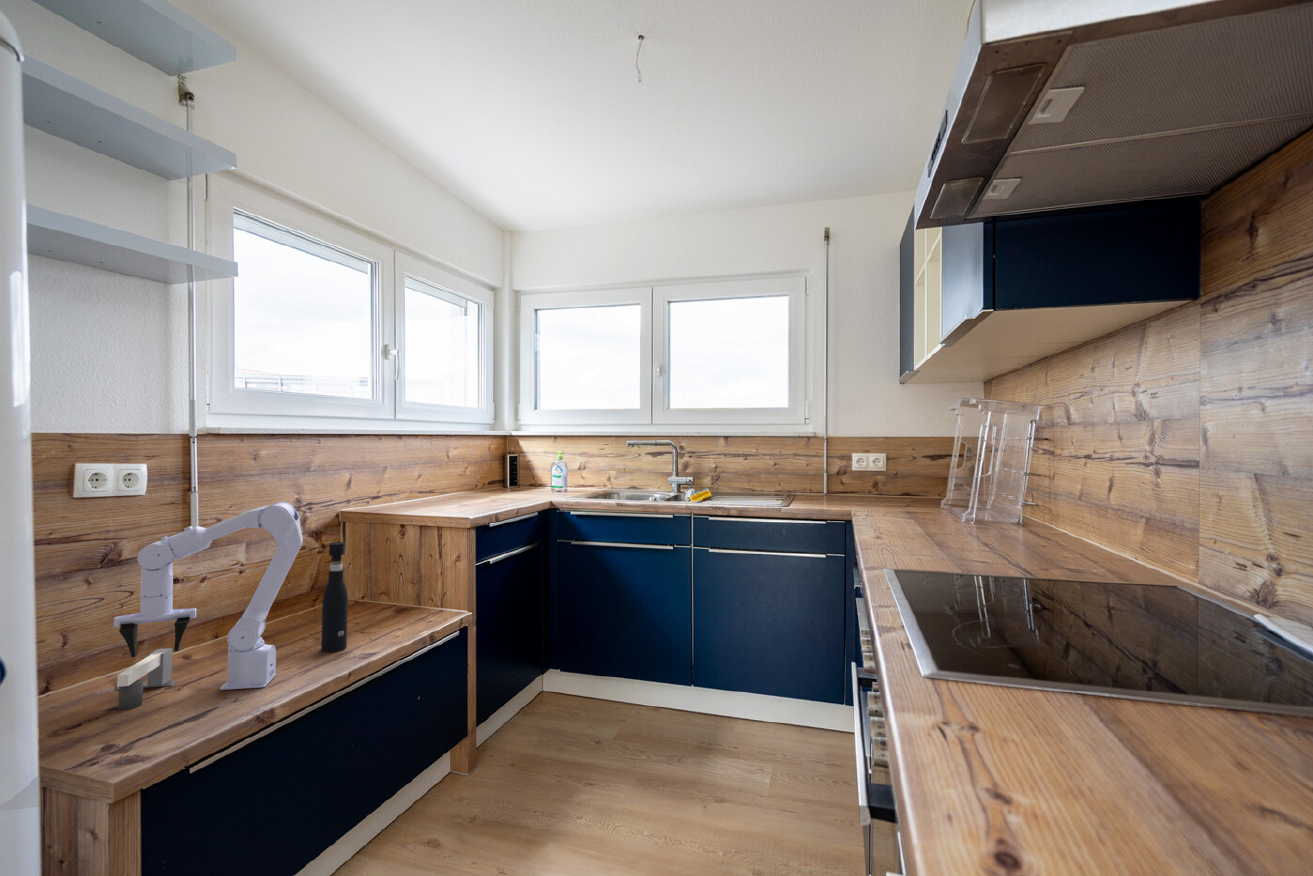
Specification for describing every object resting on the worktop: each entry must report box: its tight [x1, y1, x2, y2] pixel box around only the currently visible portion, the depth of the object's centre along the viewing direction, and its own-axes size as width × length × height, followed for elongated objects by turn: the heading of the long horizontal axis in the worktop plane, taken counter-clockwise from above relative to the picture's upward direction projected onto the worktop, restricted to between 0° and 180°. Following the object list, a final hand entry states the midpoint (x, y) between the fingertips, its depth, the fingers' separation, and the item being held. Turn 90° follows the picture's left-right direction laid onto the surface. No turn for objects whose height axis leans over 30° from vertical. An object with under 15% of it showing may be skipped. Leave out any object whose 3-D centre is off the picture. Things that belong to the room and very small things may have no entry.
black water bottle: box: [320, 541, 349, 653], centre depth 170 cm, size 6×6×30 cm
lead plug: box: [117, 679, 144, 711], centre depth 132 cm, size 4×4×5 cm
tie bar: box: [116, 647, 173, 688], centre depth 137 cm, size 3×16×8 cm, turn 14°
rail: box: [116, 679, 178, 691], centre depth 142 cm, size 11×2×1 cm, turn 104°
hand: (155, 653), depth 138 cm, fingers open, 7 cm apart
